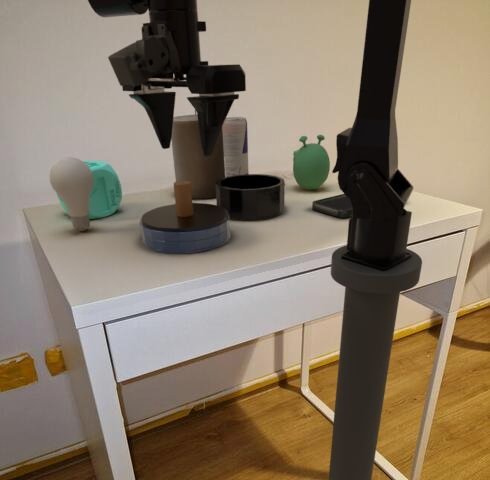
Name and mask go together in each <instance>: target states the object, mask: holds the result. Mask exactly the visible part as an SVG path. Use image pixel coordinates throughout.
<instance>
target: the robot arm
mask: <svg viewBox="0 0 490 480" xmlns="http://www.w3.org/2000/svg"><path fill="white" fill-rule="evenodd" d="M87 2H88V4H89V5H90V7H91V9H92V10H93V12H94V13H95V14H96V15H98V17H100V18H115V17H116V18H117V17H128V16H129V17H130V16H142V15H144V14H146V13H147V12H148V17H149V18H148V19H149V22H143V23H142V26H141V28H140V29H141V39H137V40H136V41H135V42H132V43H130V44H128V45H127V46H125V47H122V48H121V49H119V50H118V51H115V52H113V53H111V54H110V55H108V57H107V58H108V61H109V63H110V66H111V68H112V70H113V72H114V74H115V77H116V79H117V82H118V83H119V86H121V87H122V88H121V89H122V92H132V93H129V94H128V96H129V97H130V99H133V100H135V102H137V103H138V104H139V105H141V106H142V107H143V108H144V111H146V114H147V116H148V119H149V120H150V123H151V125H152V127H153V130H154V132H155V135H156V137H157V139H158V142H159V144H160V147H161V148H162V149H163V150H166V149H170V148H171V144H172V141H171V137H172V127H173V117H175V106H176V105H175V104H176V96H177V94H176V93H177V92H176V91H165V90H166V89H167V90H169V89H172V88H187V89H188V90H189V92H190V94H192V95H196V96H187V97H186V99H187V101H189V104H190V105H191V106H192V107H193V109H194V111H195V110H196V114H197V116H198V123H199V131H200V138H201V145H202V150H203V154H204V156H210V155H212V153H213V150H214V147H215V145H216V142H217V139H218V137H219V134H220V131H221V129H222V126H223V124H224V121H225V119H226V118H228V117H227V116H228V115H229V112H230V110H231V108H232V106H233V104H234V101H236V100H239V98H240V94H239V93H240V92H246V91H247V85H246V82H247V81H246V72H245V70H244V68H243V67H242V66H241V64H235V63H234V64H209V61H208V60H202V57H201V42H200V41H201V39H200V33H203V32H204V33H205V32H207V24H206V23H207V21H205V20H204V21H203V20H202V21H201V20H200V21H199V12H198V0H87ZM411 4H412V0H368V7H367V8H368V9H367V15H366V16H367V18H366V26H365V36H364V43H363V44H364V45H363V55H362V62H361V63H362V64H361V73H360V83H359V91H358V100H357V108H356V109H357V110H356V115H355V118H354V120H353V123H352V127H348V128H346V129H345V130H343V131H340V132H339V133H337V134H336V139H335V140H336V143H335V144H336V145H335V146H336V161H335V165H334V167H333V169H332V170H331V171H332V174H337V184H338V188H339V190H340V191H341V192H342V194H345V195H346V197H348V198H349V199H350V201H351V204H352V208H353V210H352V216H351V217H349V219H348V224H347V225H348V226H347V239H346V245H347V250H349V251H348V252H346V253H343V254H342V255H341V258H342V259H344V260H347V261H351V262H354V263H357V264H360V265H364V266H367V267H370V268H373V269H377V270H380V271H387V270H389V269H391V268H393V267H395V266H397V265H399V264H400V263H402V262H404V261H406V260H408V259H410V258H411V257H412V254H411V253H408V252H406V249H408V240H409V234H410V228H411V222H412V221H411V220H412V216H413V212H412V211H410V210H407V209H405V207H406V205H407V203H408V201H409V199H410V196H411V195H412V192H413V190H414V186H413V184H412V183H411V182H410V180H408V178H407V177H406V176H405V175H404V174H403V173H402V171H401V170H400V169H399V142H398V140H399V139H398V138H399V137H398V130H397V129H398V128H397V120H396V119H397V118H396V108H397V101H398V94H399V87H400V79H401V73H402V66H403V59H404V53H405V46H406V40H407V33H408V25H409V18H410V12H411ZM238 92H239V93H238Z"/></svg>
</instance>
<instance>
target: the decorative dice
mask: <svg viewBox="0 0 490 480" xmlns="http://www.w3.org/2000/svg"><path fill="white" fill-rule="evenodd" d="M82 161H83V162H84V163H85V164H87V166H88V167H89V168H90V170H91V172H92V174H93V179H94V181H93V187H92V191H91V194H90V197H89V214H88V215H89V220H96V219H102V218H107V217H109V216H111V215H113V214H114V213H116V211H117V210H118V208H119V206H120V205H121V202H122V198H123V190H122V186H121V185H122V184H121V181H120V179H119V176H118V174H117V172H116V170H115V169H114V168H113V167H112V165H111V164H109V163H108V162H106V161H104V160H103V161H102V160H86V161H85V160H82ZM56 196H57V199H58V201H59V203H60V205H61V207H62V209H63V210H64V211H65V213H66V214H67V215H68V216H70V215H69V214H68V211H67V208H66V206H65V204H64V202H63V201H62V199H61V198H60V197H59V195H58V194H57V193H56Z"/></svg>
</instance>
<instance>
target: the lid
mask: <svg viewBox="0 0 490 480" xmlns="http://www.w3.org/2000/svg"><path fill="white" fill-rule="evenodd" d="M173 192H174V202H175V203H174V204H167V205H163V206H159V207H155V208H152V209H150V210H148V211H146V212H145V213H144V214H142V216H141V218H140V219H141V220H142V224H143V225H144V226H146V227H148V228H150V229H153V230H158V231H166V232H188V231H197V230H203V229H207V228H211V227H214V226H217V225H220V224H222V223H223V222H225V221H226V220H227V219H228V211H227V210H226V209H225V208H223V207H220V206H217V204H211V203H203V202H193V199H192V190H191V182H190V181H177V182H176V181H174V182H173Z"/></svg>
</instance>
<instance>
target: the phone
mask: <svg viewBox="0 0 490 480" xmlns="http://www.w3.org/2000/svg"><path fill="white" fill-rule="evenodd" d="M311 203H312V204H311V208H312V210H313V211H316V212H319V213H323V214H325V215H328V216H332V217H335V218H340V219H346V218H352V210H353V208H352V204H351V201H350V199H349V198H348V197H346V195H345V194H344V193H341V194H338V195H333V196H329V197H324V198H321V199H316V200H313V201H312V202H311Z"/></svg>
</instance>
